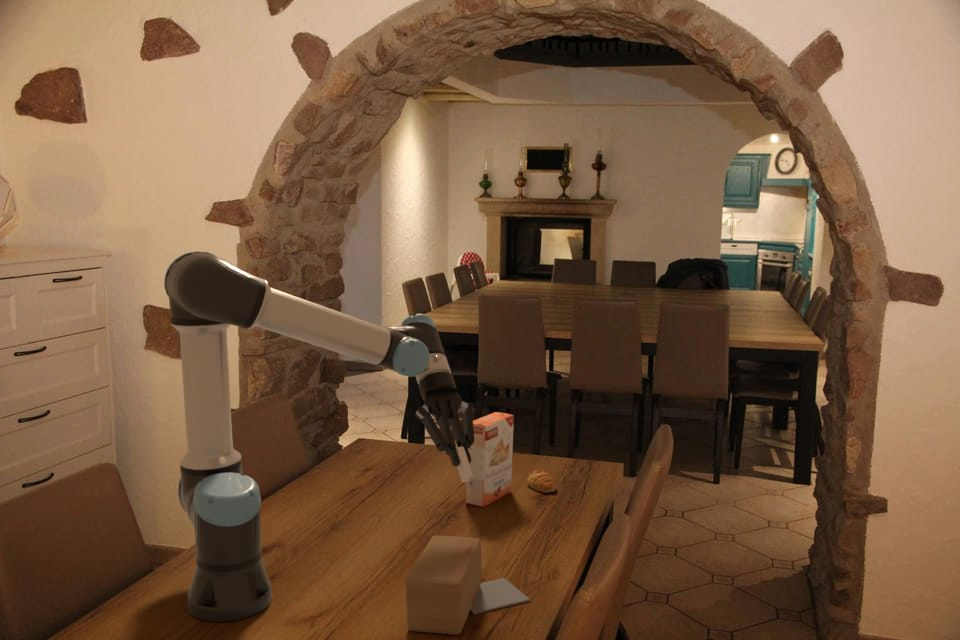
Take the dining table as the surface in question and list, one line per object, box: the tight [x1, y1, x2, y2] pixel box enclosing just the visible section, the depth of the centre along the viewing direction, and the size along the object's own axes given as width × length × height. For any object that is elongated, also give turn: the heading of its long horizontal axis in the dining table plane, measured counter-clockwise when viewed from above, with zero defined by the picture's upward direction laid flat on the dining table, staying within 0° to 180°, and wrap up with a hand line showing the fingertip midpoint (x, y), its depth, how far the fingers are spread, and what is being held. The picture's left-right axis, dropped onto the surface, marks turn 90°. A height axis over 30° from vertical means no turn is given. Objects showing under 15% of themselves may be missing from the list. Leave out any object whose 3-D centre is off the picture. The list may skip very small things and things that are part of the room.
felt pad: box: [469, 577, 531, 615], centre depth 163 cm, size 12×10×1 cm
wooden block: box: [405, 534, 483, 636], centre depth 158 cm, size 10×10×20 cm
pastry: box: [526, 469, 557, 494], centre depth 224 cm, size 9×7×4 cm
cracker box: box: [464, 411, 515, 508], centre depth 215 cm, size 14×6×21 cm, turn 148°
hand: (467, 478), depth 168 cm, fingers closed
